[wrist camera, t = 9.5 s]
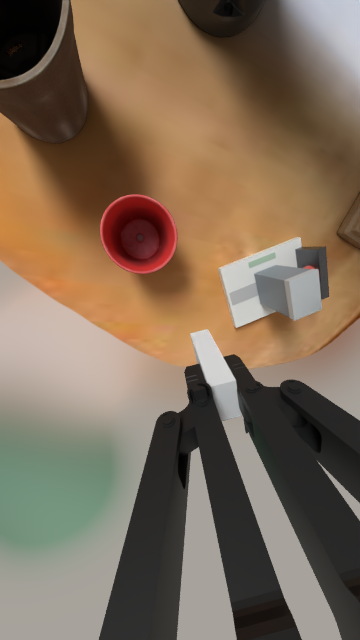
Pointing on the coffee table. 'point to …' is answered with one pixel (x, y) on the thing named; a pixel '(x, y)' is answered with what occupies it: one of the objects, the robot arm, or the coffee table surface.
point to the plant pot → (41, 69)
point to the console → (241, 272)
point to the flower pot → (138, 234)
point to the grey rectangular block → (289, 290)
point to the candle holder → (352, 225)
